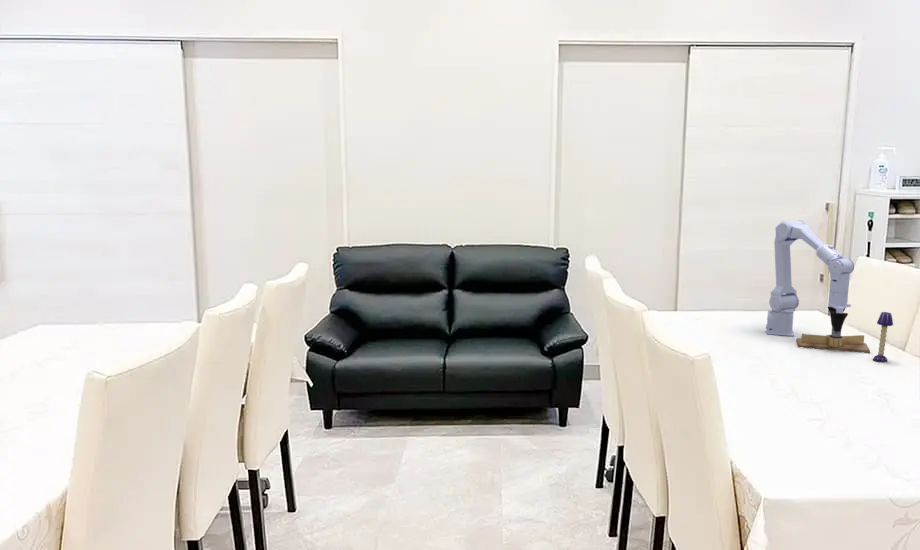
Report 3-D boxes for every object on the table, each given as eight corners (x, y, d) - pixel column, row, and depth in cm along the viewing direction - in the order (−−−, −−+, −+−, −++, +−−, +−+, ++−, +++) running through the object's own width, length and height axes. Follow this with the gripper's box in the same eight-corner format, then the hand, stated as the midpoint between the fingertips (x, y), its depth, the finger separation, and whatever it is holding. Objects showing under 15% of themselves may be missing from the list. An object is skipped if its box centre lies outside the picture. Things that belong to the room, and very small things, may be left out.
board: (797, 347, 264) (797, 344, 264) (796, 340, 274) (796, 337, 274) (869, 353, 256) (869, 350, 256) (865, 346, 265) (865, 343, 265)
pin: (831, 345, 262) (832, 326, 261) (830, 343, 265) (831, 325, 264) (840, 346, 261) (841, 327, 260) (839, 344, 264) (840, 325, 263)
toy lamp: (885, 359, 248) (889, 311, 246) (892, 363, 244) (896, 314, 241) (870, 358, 249) (874, 311, 246) (877, 362, 244) (881, 314, 242)
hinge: (801, 344, 264) (802, 336, 264) (800, 338, 272) (801, 330, 272) (866, 349, 257) (867, 341, 256) (863, 343, 265) (864, 335, 264)
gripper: (854, 296, 252) (850, 334, 254) (849, 289, 265) (846, 325, 267) (831, 294, 254) (828, 332, 256) (827, 287, 267) (824, 323, 270)
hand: (836, 329), depth 262 cm, fingers open, 7 cm apart
